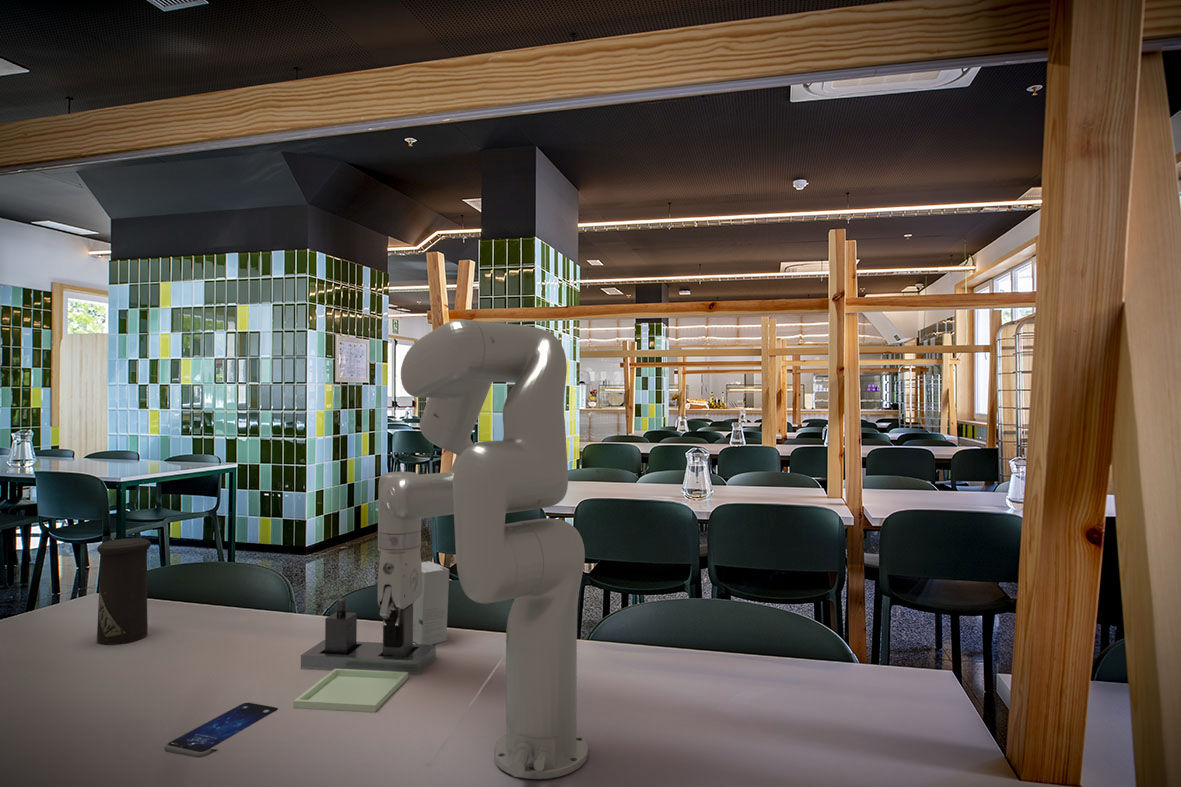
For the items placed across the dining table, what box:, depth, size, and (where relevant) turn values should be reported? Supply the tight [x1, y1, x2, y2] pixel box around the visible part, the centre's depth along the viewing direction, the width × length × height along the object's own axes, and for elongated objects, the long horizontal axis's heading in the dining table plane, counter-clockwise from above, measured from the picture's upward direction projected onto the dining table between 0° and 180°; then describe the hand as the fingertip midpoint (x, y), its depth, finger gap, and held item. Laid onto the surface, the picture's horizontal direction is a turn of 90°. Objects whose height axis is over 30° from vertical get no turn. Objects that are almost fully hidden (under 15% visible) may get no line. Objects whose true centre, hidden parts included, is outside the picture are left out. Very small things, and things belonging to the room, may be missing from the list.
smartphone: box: [164, 702, 279, 758], centre depth 100 cm, size 7×1×15 cm
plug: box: [382, 603, 414, 656], centre depth 124 cm, size 4×4×11 cm
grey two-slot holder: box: [300, 597, 437, 675], centre depth 125 cm, size 8×22×12 cm, turn 83°
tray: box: [292, 669, 409, 713], centre depth 112 cm, size 13×13×2 cm
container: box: [96, 537, 152, 645], centre depth 139 cm, size 9×9×20 cm
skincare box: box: [413, 560, 450, 645], centre depth 139 cm, size 8×6×15 cm
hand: (398, 641), depth 124 cm, fingers closed on plug, 4 cm apart
